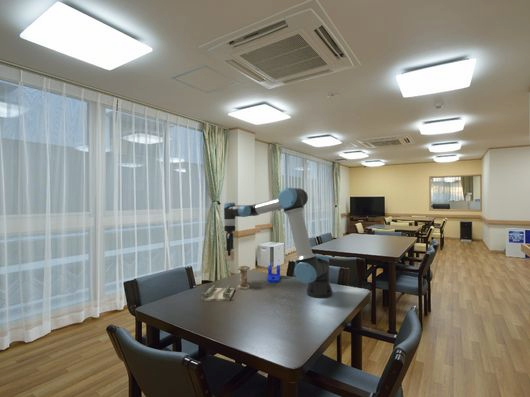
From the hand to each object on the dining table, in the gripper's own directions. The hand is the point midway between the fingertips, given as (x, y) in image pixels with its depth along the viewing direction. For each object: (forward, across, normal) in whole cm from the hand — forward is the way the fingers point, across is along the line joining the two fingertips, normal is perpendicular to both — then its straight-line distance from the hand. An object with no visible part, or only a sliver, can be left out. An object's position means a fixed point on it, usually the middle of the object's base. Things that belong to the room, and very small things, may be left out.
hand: (230, 259), depth 193 cm
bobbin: (+17, +8, +10) cm, 21 cm away
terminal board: (+17, +23, -3) cm, 29 cm away
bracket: (+17, -12, +29) cm, 36 cm away
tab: (0, 0, 0) cm, 0 cm away
